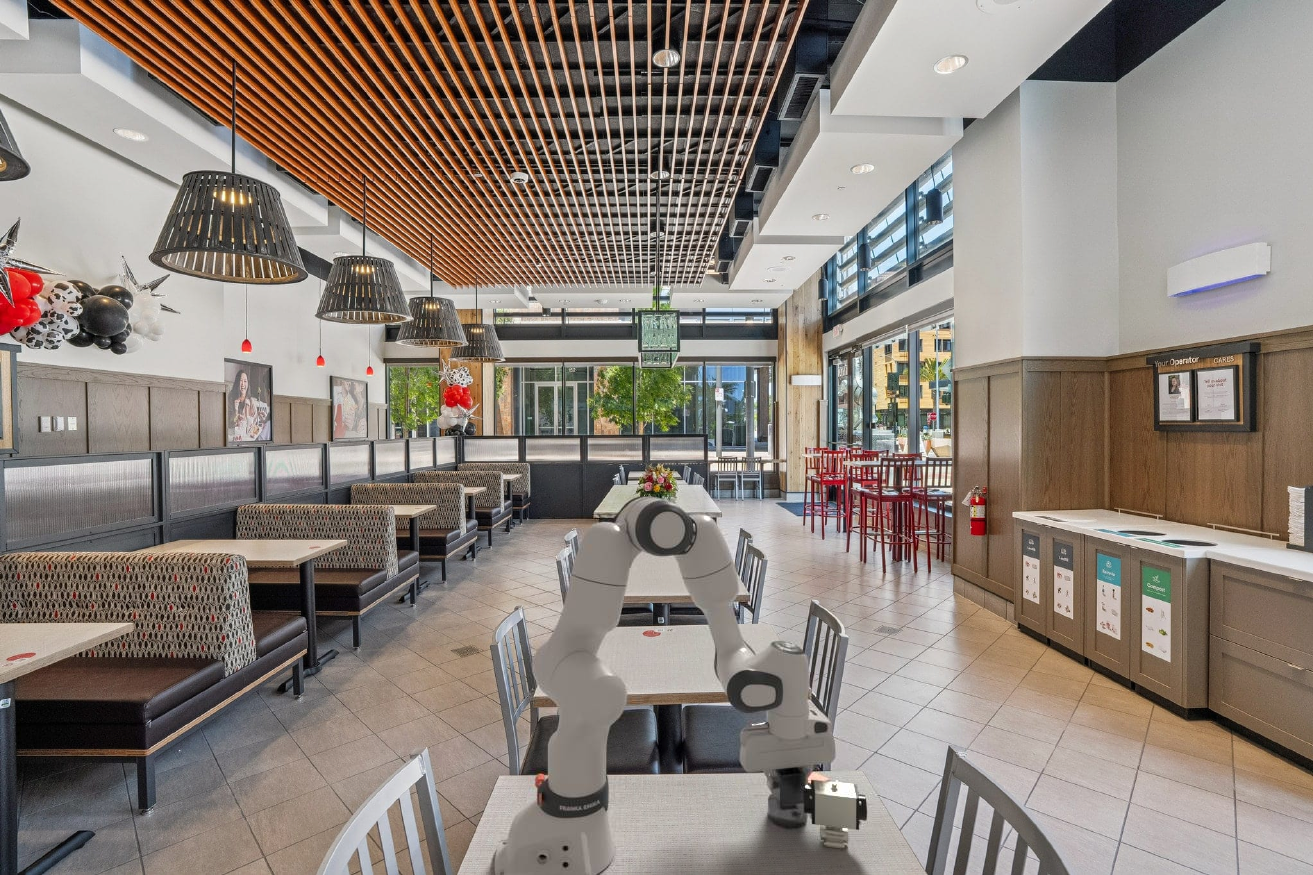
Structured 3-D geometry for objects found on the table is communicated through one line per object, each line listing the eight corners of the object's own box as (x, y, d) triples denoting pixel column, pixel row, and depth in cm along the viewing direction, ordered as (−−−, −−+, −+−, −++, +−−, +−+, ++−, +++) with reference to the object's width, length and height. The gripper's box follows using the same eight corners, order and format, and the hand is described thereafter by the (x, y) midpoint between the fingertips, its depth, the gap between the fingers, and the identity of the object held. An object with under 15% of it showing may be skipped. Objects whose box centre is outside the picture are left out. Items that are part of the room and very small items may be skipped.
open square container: (779, 806, 125) (780, 777, 125) (769, 789, 131) (769, 762, 130) (805, 802, 126) (805, 774, 126) (794, 786, 132) (794, 759, 131)
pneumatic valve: (866, 855, 117) (867, 793, 116) (803, 846, 119) (804, 786, 119) (863, 836, 122) (863, 777, 122) (803, 828, 124) (803, 770, 124)
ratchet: (793, 834, 123) (793, 797, 122) (760, 816, 128) (760, 781, 128) (837, 795, 135) (837, 761, 135) (805, 780, 141) (805, 748, 141)
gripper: (745, 733, 123) (745, 800, 123) (839, 723, 127) (839, 788, 127) (735, 718, 129) (735, 782, 129) (825, 709, 133) (825, 771, 133)
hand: (787, 785), depth 128 cm, fingers closed on open square container, 6 cm apart
